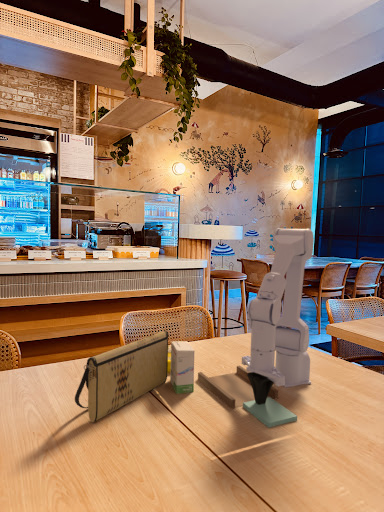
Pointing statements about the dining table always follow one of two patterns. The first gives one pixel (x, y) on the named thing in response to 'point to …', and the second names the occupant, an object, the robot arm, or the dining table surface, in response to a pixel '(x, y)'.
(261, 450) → the dining table surface
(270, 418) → the teal plate
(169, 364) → the element tile
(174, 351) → the ink box
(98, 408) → the clutch purse
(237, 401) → the walnut tray
